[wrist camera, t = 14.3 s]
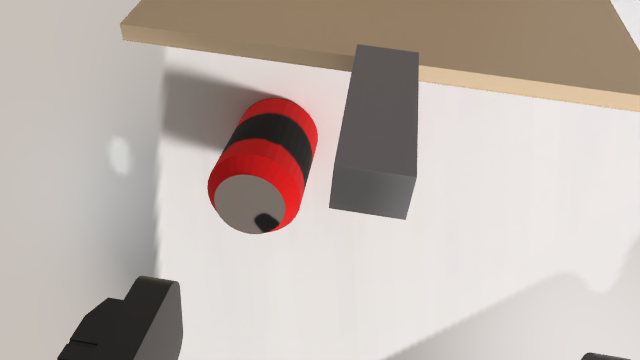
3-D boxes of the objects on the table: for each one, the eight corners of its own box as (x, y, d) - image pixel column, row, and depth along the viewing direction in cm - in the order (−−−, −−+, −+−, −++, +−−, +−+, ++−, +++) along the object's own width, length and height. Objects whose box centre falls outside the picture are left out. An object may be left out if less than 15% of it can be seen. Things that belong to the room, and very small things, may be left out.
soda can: (276, 179, 55) (248, 256, 45) (224, 124, 52) (182, 194, 42) (334, 141, 52) (317, 215, 42) (282, 81, 49) (251, 145, 39)
